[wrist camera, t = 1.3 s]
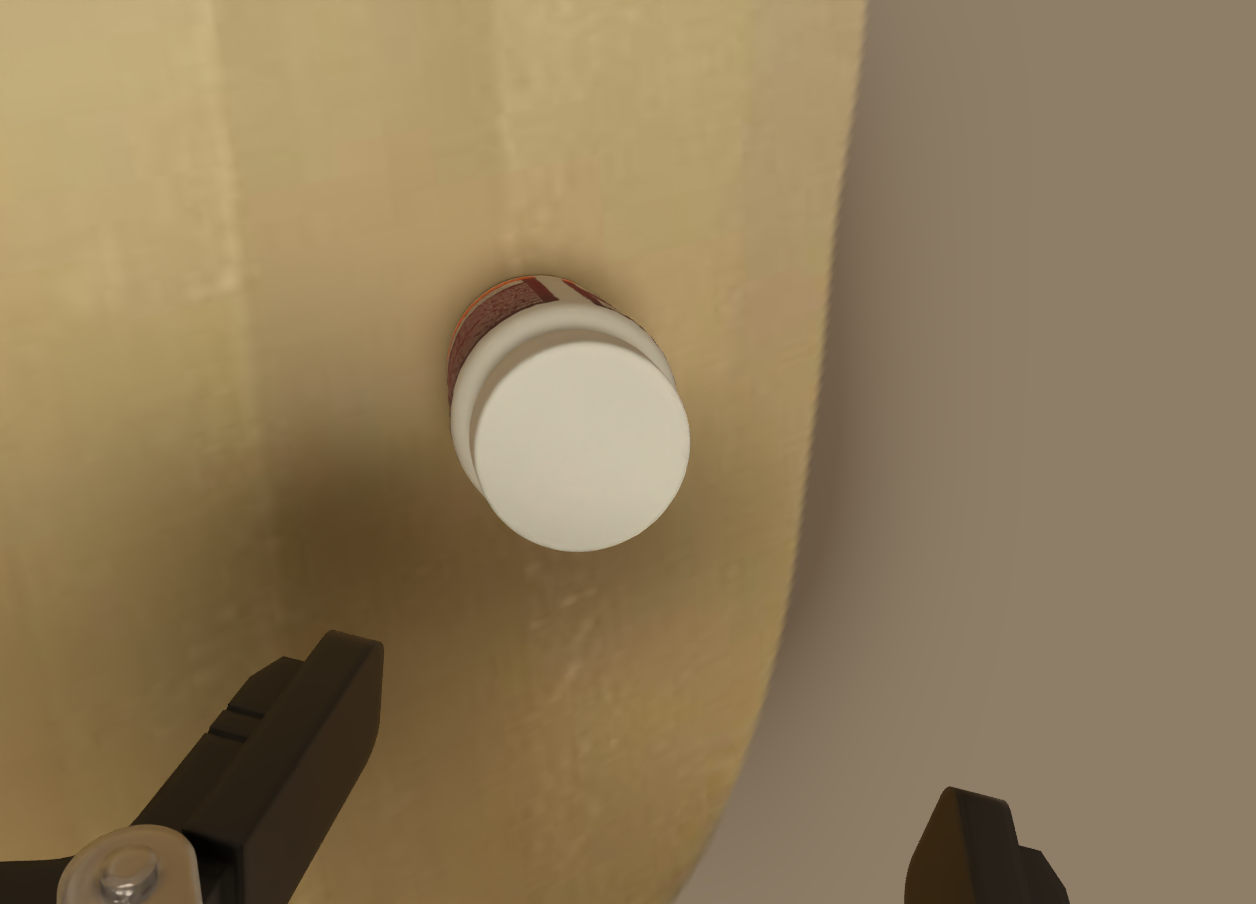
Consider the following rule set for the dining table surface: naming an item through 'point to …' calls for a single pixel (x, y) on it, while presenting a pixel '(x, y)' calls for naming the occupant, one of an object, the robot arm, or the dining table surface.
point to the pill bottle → (564, 414)
